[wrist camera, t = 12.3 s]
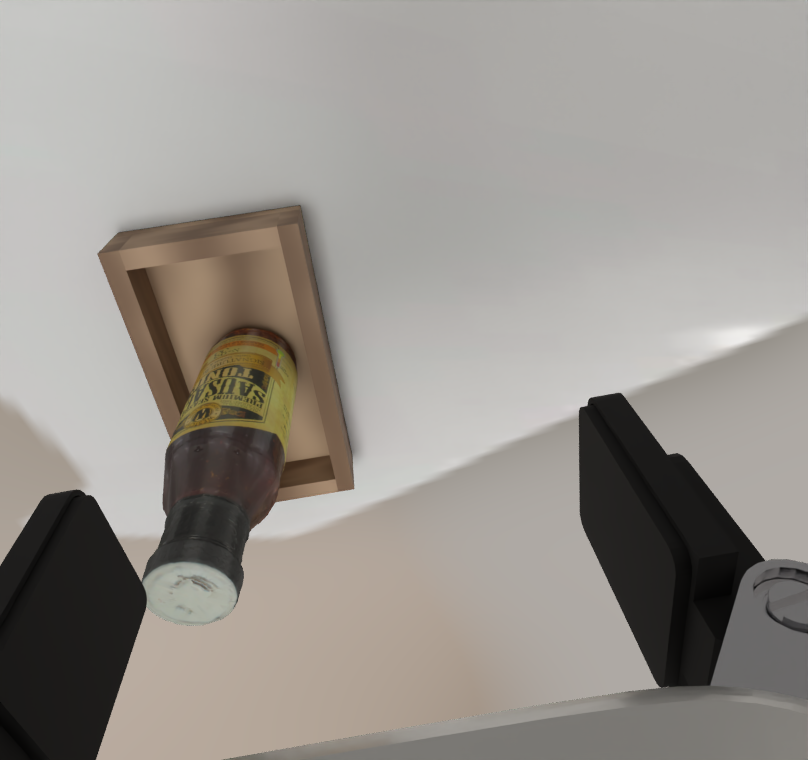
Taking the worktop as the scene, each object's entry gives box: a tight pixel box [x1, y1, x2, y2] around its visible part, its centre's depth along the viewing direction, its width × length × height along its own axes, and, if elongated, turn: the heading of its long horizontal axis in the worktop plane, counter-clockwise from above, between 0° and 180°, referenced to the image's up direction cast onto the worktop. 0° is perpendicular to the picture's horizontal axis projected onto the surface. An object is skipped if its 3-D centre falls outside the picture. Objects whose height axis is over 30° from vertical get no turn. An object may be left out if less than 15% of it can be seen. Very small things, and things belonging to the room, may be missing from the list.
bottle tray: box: [98, 205, 354, 502], centre depth 42 cm, size 11×20×4 cm, turn 7°
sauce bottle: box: [142, 328, 298, 626], centre depth 34 cm, size 7×6×20 cm
